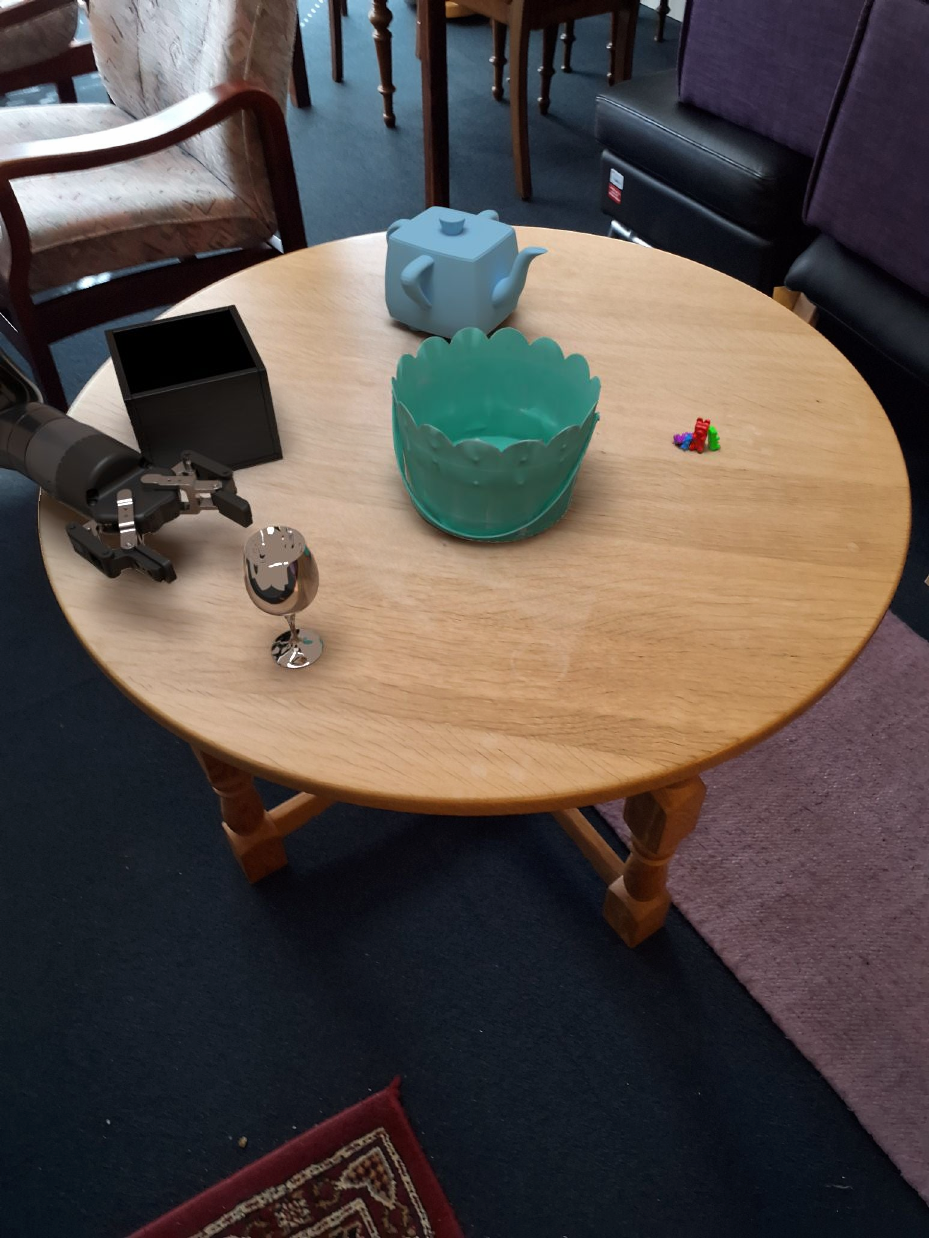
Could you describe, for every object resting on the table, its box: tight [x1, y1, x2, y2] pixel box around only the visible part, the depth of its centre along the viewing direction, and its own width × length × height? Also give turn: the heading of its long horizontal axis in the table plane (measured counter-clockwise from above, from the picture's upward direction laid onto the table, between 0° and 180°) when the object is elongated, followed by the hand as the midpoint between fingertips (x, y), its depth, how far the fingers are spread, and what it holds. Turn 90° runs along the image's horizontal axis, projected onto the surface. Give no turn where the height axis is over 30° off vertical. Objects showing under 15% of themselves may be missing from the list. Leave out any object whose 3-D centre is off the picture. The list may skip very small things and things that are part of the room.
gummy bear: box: [672, 417, 721, 453], centre depth 94 cm, size 5×3×4 cm, turn 65°
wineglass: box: [242, 525, 324, 670], centre depth 72 cm, size 6×6×12 cm
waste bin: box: [103, 304, 284, 472], centre depth 93 cm, size 14×14×11 cm
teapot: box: [384, 206, 549, 341], centre depth 109 cm, size 18×16×14 cm
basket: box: [390, 327, 602, 544], centre depth 86 cm, size 19×18×13 cm
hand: (211, 545), depth 75 cm, fingers open, 8 cm apart
